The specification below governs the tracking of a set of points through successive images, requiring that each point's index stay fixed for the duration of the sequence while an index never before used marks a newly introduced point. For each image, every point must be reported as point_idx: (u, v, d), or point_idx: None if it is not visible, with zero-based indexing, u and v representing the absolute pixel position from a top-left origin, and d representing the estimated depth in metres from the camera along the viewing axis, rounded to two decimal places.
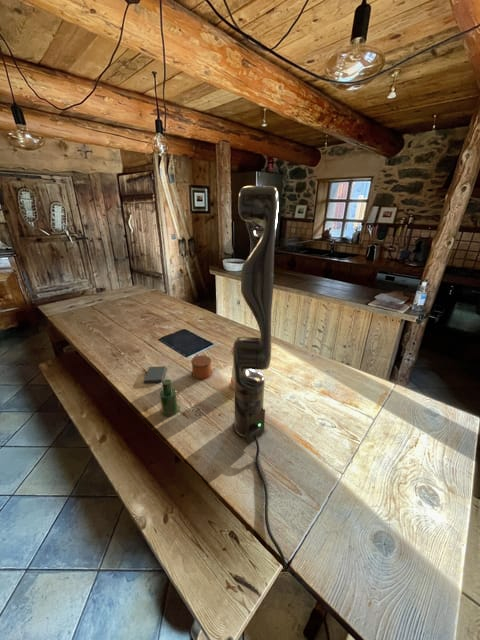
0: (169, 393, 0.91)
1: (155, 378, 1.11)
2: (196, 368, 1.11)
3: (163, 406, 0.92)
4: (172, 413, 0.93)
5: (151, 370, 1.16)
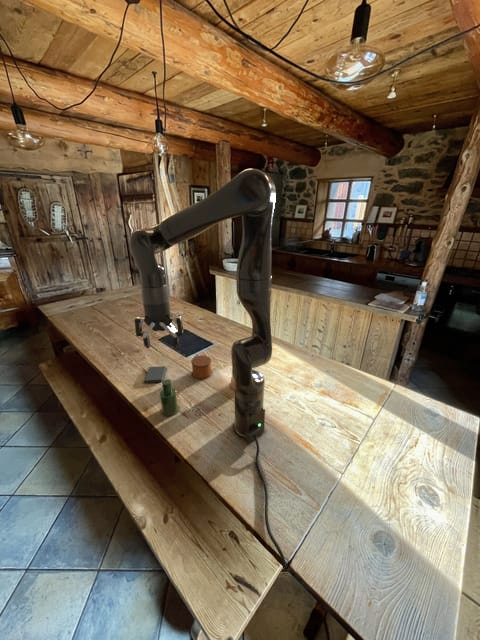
0: (169, 393, 0.91)
1: (155, 378, 1.11)
2: (196, 368, 1.11)
3: (163, 406, 0.92)
4: (172, 413, 0.93)
5: (151, 370, 1.16)
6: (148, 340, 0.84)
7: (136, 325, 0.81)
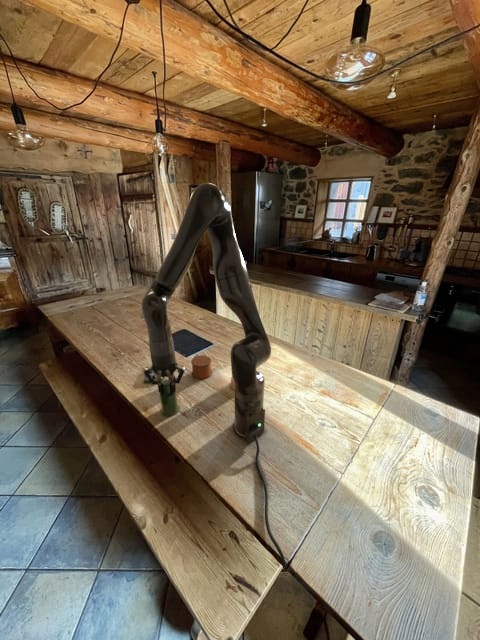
0: (169, 393, 0.91)
1: None
2: (196, 368, 1.11)
3: (163, 406, 0.92)
4: (172, 413, 0.93)
5: None
6: (162, 387, 0.91)
7: (147, 376, 0.88)
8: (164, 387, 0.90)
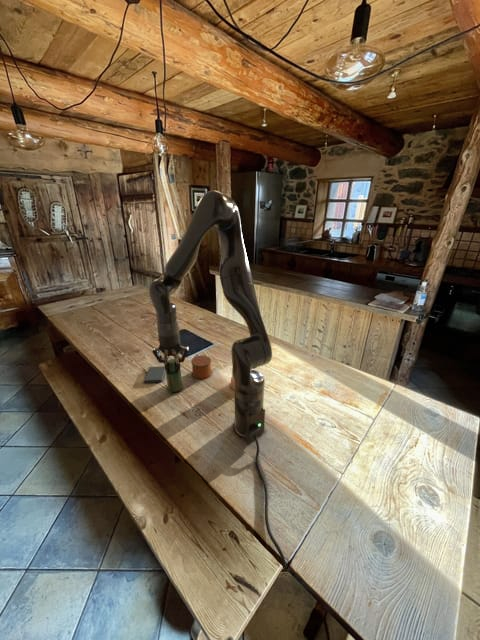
0: (174, 371, 1.02)
1: (155, 378, 1.11)
2: (196, 368, 1.11)
3: (169, 383, 1.03)
4: (177, 389, 1.04)
5: (151, 370, 1.16)
6: (168, 365, 1.02)
7: (155, 355, 0.99)
8: (170, 365, 1.01)
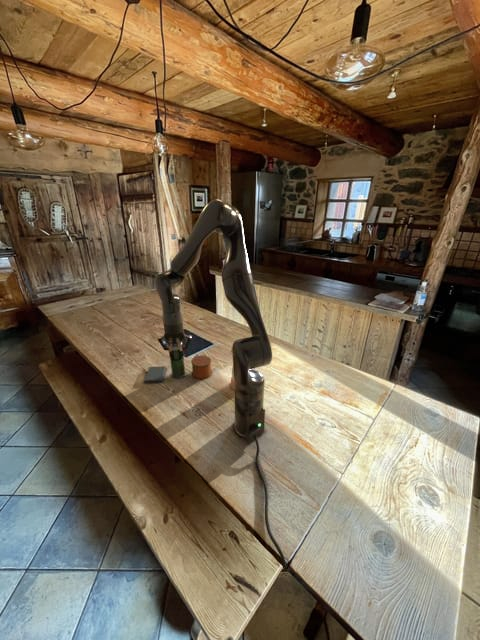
0: (178, 358, 1.11)
1: (155, 378, 1.11)
2: (196, 368, 1.11)
3: (173, 369, 1.12)
4: (180, 375, 1.13)
5: (151, 370, 1.16)
6: (172, 353, 1.11)
7: (161, 343, 1.07)
8: (174, 353, 1.10)
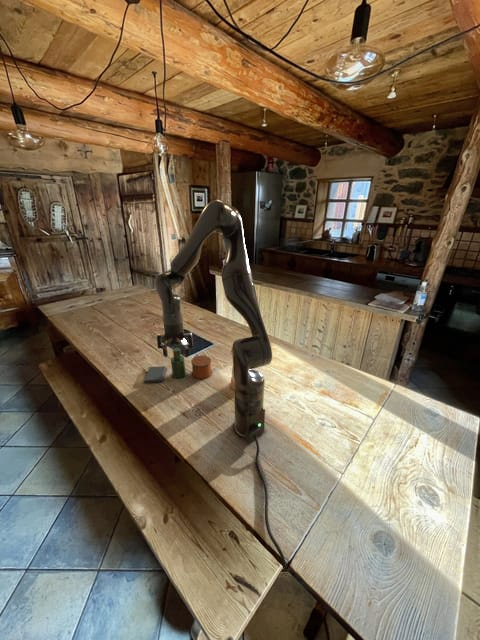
0: (178, 359, 1.11)
1: (155, 378, 1.11)
2: (196, 368, 1.11)
3: (173, 370, 1.12)
4: (181, 376, 1.13)
5: (151, 370, 1.16)
6: (166, 351, 1.10)
7: (158, 340, 1.07)
8: (174, 353, 1.10)
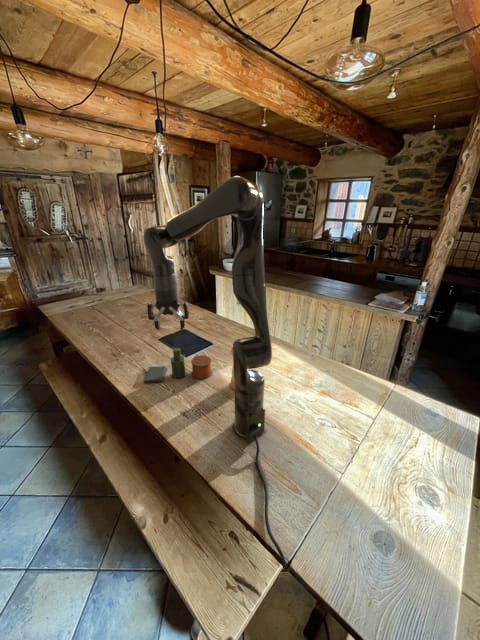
0: (178, 359, 1.11)
1: (155, 378, 1.11)
2: (196, 368, 1.11)
3: (173, 370, 1.12)
4: (181, 376, 1.13)
5: (151, 370, 1.16)
6: (158, 323, 0.97)
7: (148, 310, 0.94)
8: (174, 353, 1.10)
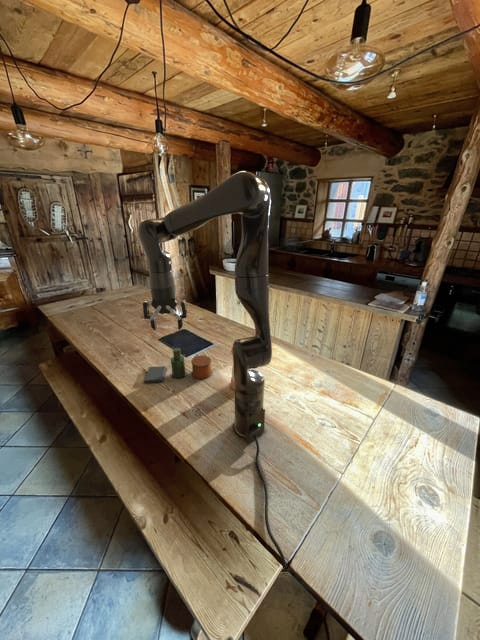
0: (178, 359, 1.11)
1: (155, 378, 1.11)
2: (196, 368, 1.11)
3: (173, 370, 1.12)
4: (181, 376, 1.13)
5: (151, 370, 1.16)
6: (155, 322, 0.92)
7: (144, 308, 0.88)
8: (174, 353, 1.10)
